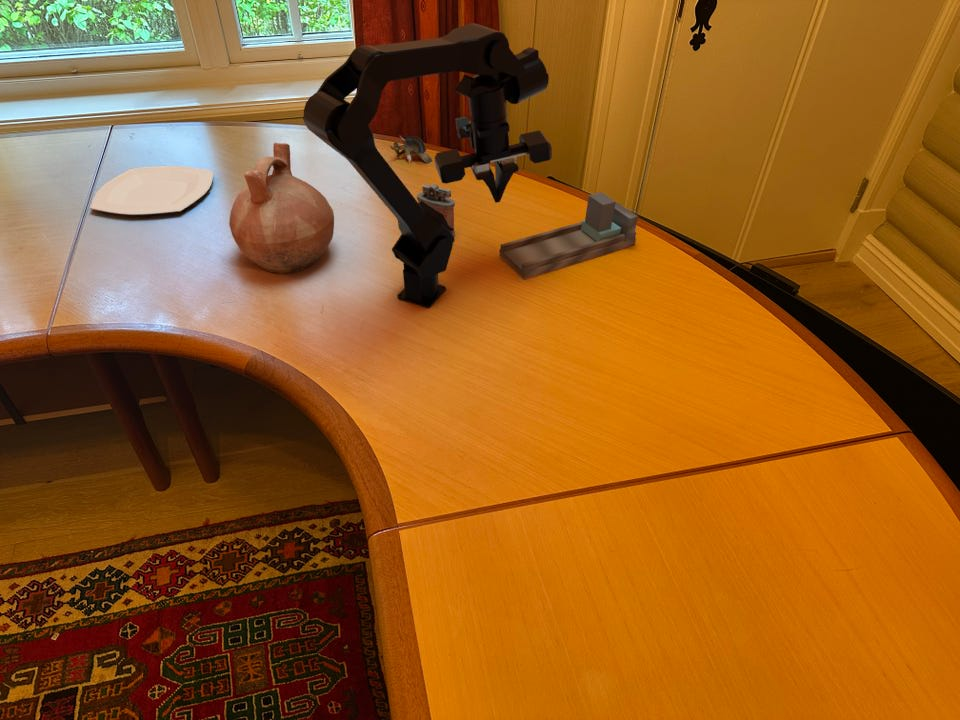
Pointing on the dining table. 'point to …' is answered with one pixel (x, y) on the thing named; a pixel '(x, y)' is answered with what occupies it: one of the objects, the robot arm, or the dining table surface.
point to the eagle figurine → (412, 148)
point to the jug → (280, 216)
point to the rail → (566, 246)
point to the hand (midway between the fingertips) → (497, 201)
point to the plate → (153, 190)
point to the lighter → (439, 201)
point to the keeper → (600, 217)
